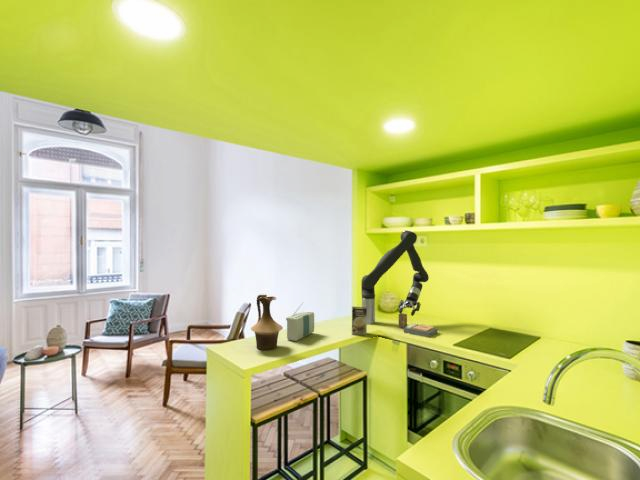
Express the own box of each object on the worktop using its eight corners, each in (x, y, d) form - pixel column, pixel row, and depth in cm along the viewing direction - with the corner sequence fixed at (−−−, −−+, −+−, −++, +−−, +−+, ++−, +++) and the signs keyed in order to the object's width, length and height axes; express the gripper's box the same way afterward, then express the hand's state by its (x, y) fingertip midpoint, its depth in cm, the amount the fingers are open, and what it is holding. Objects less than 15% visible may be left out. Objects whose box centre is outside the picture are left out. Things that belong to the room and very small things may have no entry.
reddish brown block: (398, 327, 211) (398, 314, 211) (401, 326, 214) (401, 313, 214) (404, 329, 208) (404, 315, 208) (407, 327, 211) (406, 314, 211)
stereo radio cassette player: (297, 342, 179) (297, 306, 180) (284, 340, 183) (284, 305, 184) (314, 333, 198) (315, 301, 198) (303, 331, 202) (303, 300, 202)
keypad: (403, 332, 200) (403, 326, 200) (413, 328, 209) (413, 322, 209) (428, 337, 189) (428, 331, 189) (437, 333, 198) (437, 326, 198)
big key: (412, 330, 197) (412, 327, 197) (420, 327, 205) (420, 324, 205) (426, 333, 191) (426, 330, 191) (434, 330, 199) (434, 326, 199)
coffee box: (351, 334, 194) (351, 308, 195) (351, 332, 201) (351, 306, 201) (366, 335, 193) (366, 308, 194) (366, 332, 200) (366, 306, 200)
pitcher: (243, 347, 170) (243, 294, 170) (267, 340, 183) (267, 291, 183) (265, 354, 159) (265, 298, 159) (289, 346, 172) (289, 294, 172)
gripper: (402, 290, 226) (394, 309, 217) (421, 292, 216) (413, 312, 208) (406, 297, 230) (398, 316, 221) (425, 299, 220) (417, 319, 212)
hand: (405, 314), depth 214 cm, fingers open, 8 cm apart
